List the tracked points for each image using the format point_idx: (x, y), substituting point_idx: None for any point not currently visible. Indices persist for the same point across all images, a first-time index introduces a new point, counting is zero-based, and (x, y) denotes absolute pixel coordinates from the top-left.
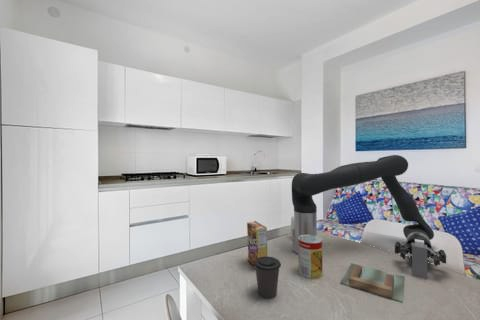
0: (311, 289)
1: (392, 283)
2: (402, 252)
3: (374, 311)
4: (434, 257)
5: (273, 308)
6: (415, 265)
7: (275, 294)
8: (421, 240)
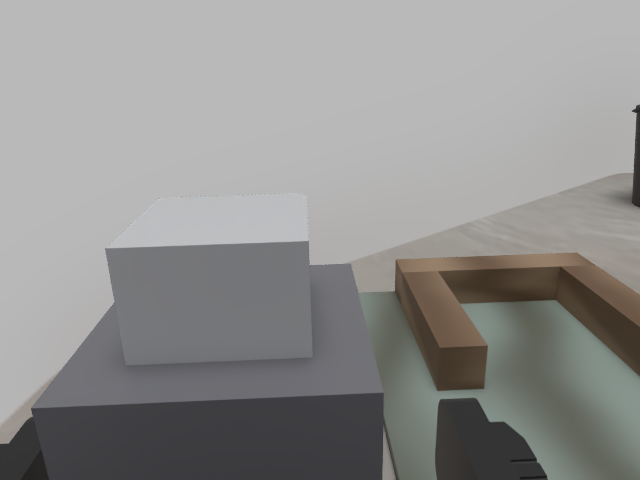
0: (625, 241)
1: (411, 289)
2: (497, 447)
3: (415, 249)
4: (31, 459)
5: (588, 195)
6: None
7: (637, 199)
8: (168, 234)
